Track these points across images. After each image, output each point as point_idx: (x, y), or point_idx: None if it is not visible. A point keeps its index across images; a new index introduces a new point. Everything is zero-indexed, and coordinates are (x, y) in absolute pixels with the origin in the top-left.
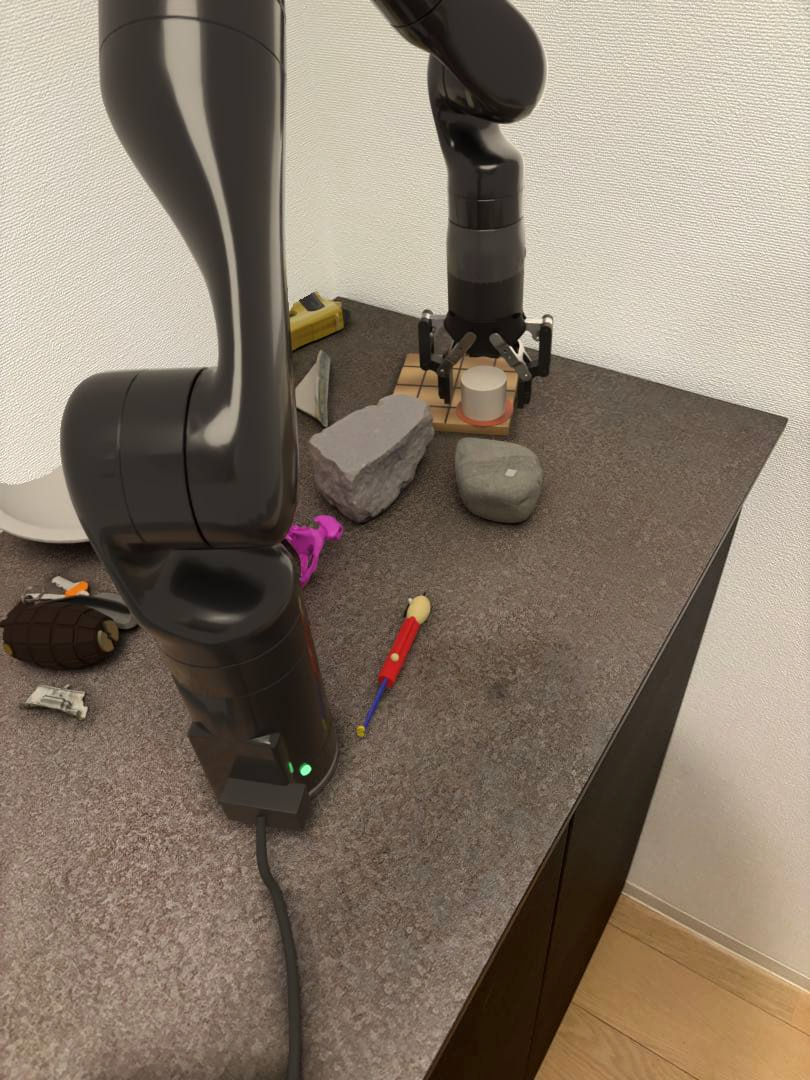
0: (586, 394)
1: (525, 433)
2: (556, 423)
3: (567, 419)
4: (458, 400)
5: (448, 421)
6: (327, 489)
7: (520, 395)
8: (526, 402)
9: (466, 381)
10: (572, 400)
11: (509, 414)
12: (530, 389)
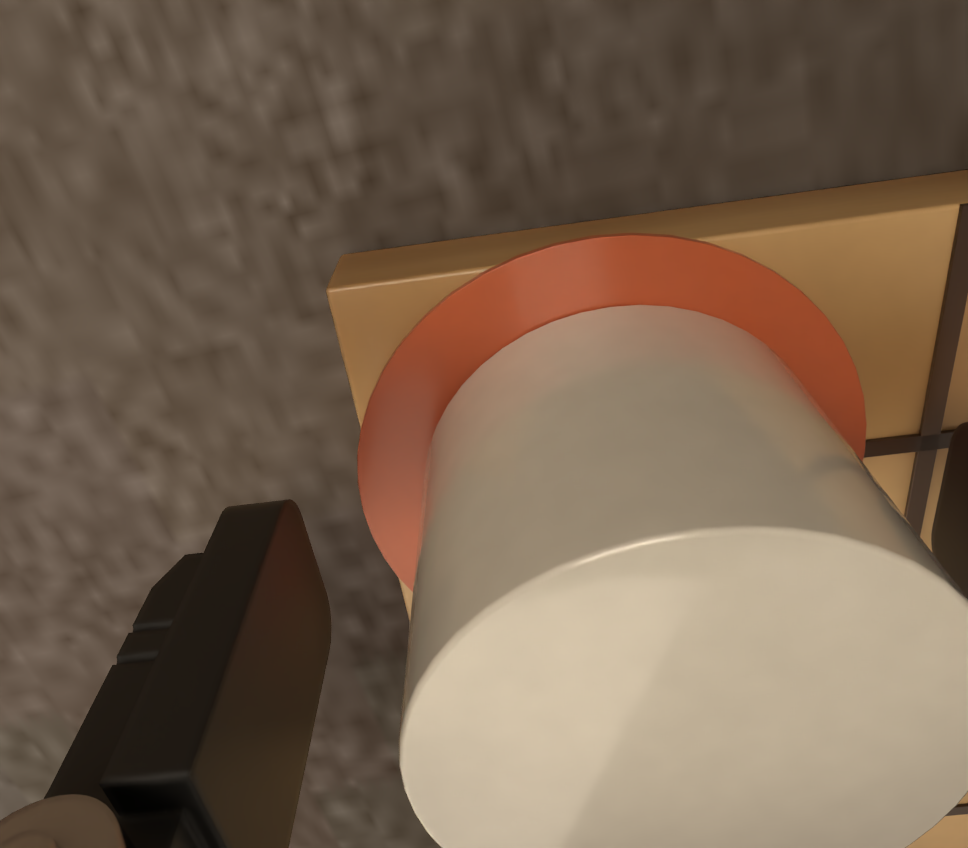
0: (31, 763)
1: (217, 325)
2: (52, 489)
3: (5, 544)
4: None
5: (934, 237)
6: None
7: (213, 609)
8: (194, 566)
9: (926, 668)
10: (79, 707)
11: (375, 457)
12: (100, 698)
